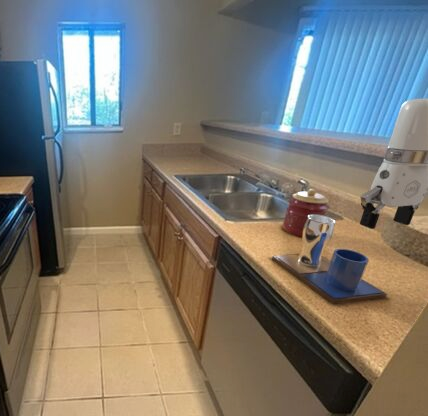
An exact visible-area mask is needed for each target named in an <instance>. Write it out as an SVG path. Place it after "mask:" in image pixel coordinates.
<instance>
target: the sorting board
mask: <svg viewBox="0 0 428 416" xmlns="http://www.w3.org/2000/svg"><path fill="white" fill-rule="evenodd" d="M299 254H300V253H290V254H279V255H272V257H271V260H272V261H274V263H276V264H278V265H279V266H280V267H282V268H283V269H284V270H285V271H287V272H288V273H290V274H291V275H293V276H294V277H295V278H297V279H298V280H299V281H301V282H302V283H304V284H305V285H306V286H307V287H309V288H310V289H312V290H313V291H314V292H316V293H317V294H318V295H320V296H321V297H322V298H324V299H325V300H326V301H328V302H329V303H330V304H332V305H334V304H342V303H350V302H351V303H353V302H358V301H359V302H360V301H367V300H376V299H384V298H387V296H388V293H386V292H385V291H383V290H381V289H380V288H378V287H376V286H374V285H373V284H371V283H369V282H367V281H366V280H365V279H363V278H362V279H361V282H360V285H359V287H358V289H357V290H356V291H344V290H340V289H338V288H335V287H333V286H331V285H330V284H328V283H327V282H326V280H325V277H326V273H327V270H328V267H329V264H330V261H331V259H329V258H327V257H325V256H324V255H322V257H321V266H320V267H309V266H305V265H303V264H301V263H300V262H298V260H297V258H298V256H299Z"/></svg>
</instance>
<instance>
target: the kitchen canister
mask: <svg viewBox="0 0 428 416" xmlns="http://www.w3.org/2000/svg"><path fill="white" fill-rule="evenodd" d="M329 201H330V200H329V198H327V197H326V196H325V195H323V194H321V193H317V191H316V189H314V188H310V189H308V190H307V191H298V192H296V193H293V194H292V196H291V198H290V199H289V198H288V206H287V207H286V211H285V215H284V220H283V222H282V229H283V230H284V231H285V232H287V233H288V234H291V235H293V236H296V237H301V238H302V235H303V230H304V226H305V223H306V221H307V218H308V216H309V215H323V216H327V217H328V214H327V212H328V210H329V209H330V208H331V207H330V205H329V204H328V203H329Z"/></svg>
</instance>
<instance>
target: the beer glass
mask: <svg viewBox="0 0 428 416" xmlns="http://www.w3.org/2000/svg"><path fill="white" fill-rule="evenodd" d="M336 222H337V221H336V220H335V219H334V218H332V217H330V216H328V215H327V216H323V215H309V216H308V218H307V221H306V223H305V226H304V230H303V235H302V237H301V249H300V252H299V253H298V254H299V256H298V258H297V260H298V262H300V263H301V264H303V265H305V266H309V267H320V266H321V257H322V256H323V254H324V252H325V251H326V248H327V247H328V245H329V243H330V242H331V240H332V238H333V234H334V231H335V226H336Z"/></svg>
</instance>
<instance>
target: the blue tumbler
mask: <svg viewBox="0 0 428 416" xmlns="http://www.w3.org/2000/svg"><path fill="white" fill-rule="evenodd" d="M369 260H370V259H369V257H367V256H366V255H365V254H362V253H361V252H358V251H355V250H352V249H347V248H336V249H334V250H333V252H332V255H331V259H330V264H329V267H328V270H327V273H326V277H325V280H326V282H327V283H328V284H330V285H331V286H333V287H335V288H338V289H340V290H344V291H356V290H357V289H358V287H359V285H360V282H361V279H363V277H364V274H365V271H366V269H367V267H368V264H369V262H370V261H369Z"/></svg>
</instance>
